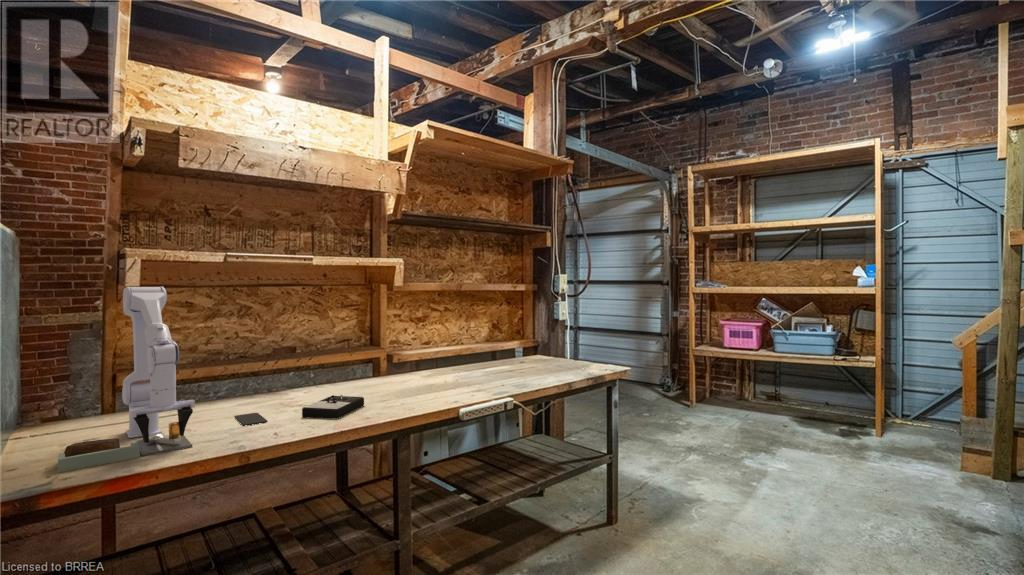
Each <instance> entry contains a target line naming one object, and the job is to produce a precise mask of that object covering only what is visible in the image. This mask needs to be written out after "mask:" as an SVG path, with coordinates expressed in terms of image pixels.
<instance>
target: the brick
mask: <svg viewBox="0 0 1024 575" xmlns="http://www.w3.org/2000/svg"><path fill="white" fill-rule="evenodd" d="M120 441H121V440H120V438H119V437H116V438H115V437H114V438H104V439H95V440H87V441H86V440H85V441H80V442H79V441H78V442H75V443H72V444H68V445H67V446H66V447H65V448H64V451H63V453H65V457H70V456H76V455H82V454H87V453H93V452H99V451H105V450H110V449H116V448H121V446H120V445H121V444H120V443H121V442H120Z"/></svg>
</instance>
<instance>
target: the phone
mask: <svg viewBox="0 0 1024 575" xmlns="http://www.w3.org/2000/svg"><path fill="white" fill-rule="evenodd" d="M234 417H235V418H236V419H237V420H238V421H239V422H240V423H241V424H242V425H243V426H242V425H241V424H240V423H239V422H238V421H237V420H236V419H235V418H234V419H235V420H236V421H237V422H238V423H239V424H240V425H241V426H242V427H246V426H245V425H250V426H253V425H252V424H256V425H260V424H259V423H262V424H267V423H268V420H267V419H266V418H265V417H264V416H262V415H261V414H260V413H258V412H251V413H244V414H237V415H234ZM266 422H267V423H266Z"/></svg>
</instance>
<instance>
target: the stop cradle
mask: <svg viewBox="0 0 1024 575" xmlns="http://www.w3.org/2000/svg"><path fill="white" fill-rule="evenodd" d="M137 441H138V440H133V441H130V445H129V446H123V447H120V448H116V449H110V450H105V451H99V452H93V453H87V454H82V455H76V456H70V457H65V453H64V452H62V453H61V452H60V453H58V454H57V457H58V458H57V473H63V472H69V471H73V470H79V469H84V468H88V467H94V466H100V465H105V464H112V463H115V462H120V461H126V460H130V459H131V460H132V459H136V458H140V450H139V445H138V443H137Z"/></svg>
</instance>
